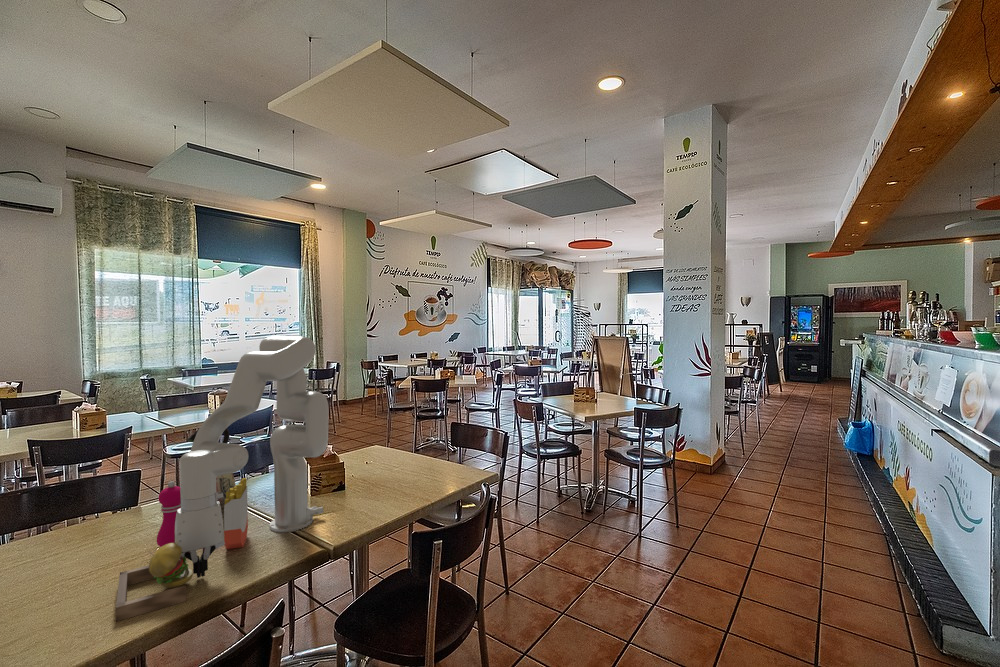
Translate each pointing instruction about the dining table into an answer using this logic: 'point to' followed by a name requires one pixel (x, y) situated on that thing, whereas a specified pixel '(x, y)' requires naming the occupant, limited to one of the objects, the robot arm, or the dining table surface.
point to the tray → (147, 602)
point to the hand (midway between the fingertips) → (200, 574)
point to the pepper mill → (168, 513)
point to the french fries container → (236, 516)
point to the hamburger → (170, 566)
